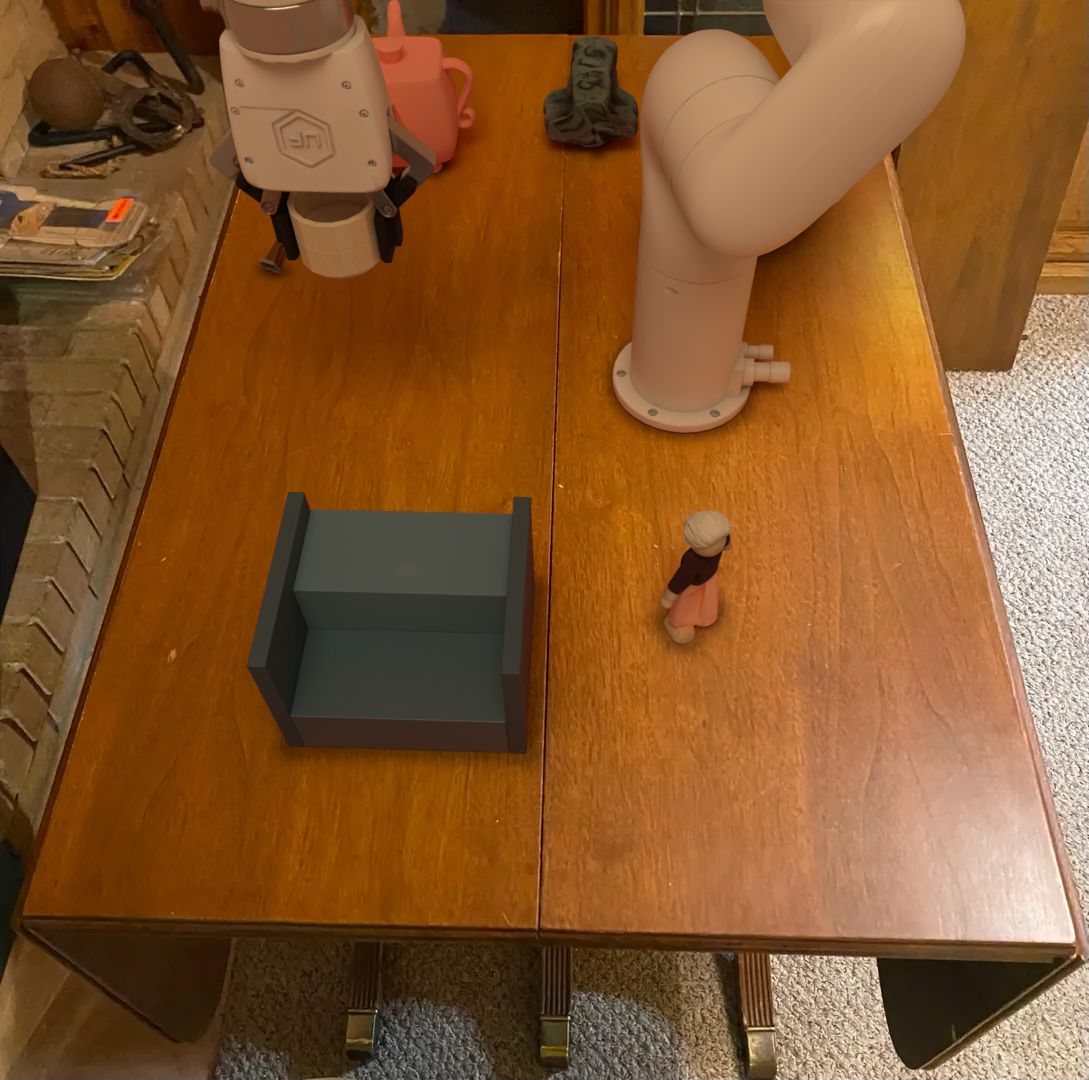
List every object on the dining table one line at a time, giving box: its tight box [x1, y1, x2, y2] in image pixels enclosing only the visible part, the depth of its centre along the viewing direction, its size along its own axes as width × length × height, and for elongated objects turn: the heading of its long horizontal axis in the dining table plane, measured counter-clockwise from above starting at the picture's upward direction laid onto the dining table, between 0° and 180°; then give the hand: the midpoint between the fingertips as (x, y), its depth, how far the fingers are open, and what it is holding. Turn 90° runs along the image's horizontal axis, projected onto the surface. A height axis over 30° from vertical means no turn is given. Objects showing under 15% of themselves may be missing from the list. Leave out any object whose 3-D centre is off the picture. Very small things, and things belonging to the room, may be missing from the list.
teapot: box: [371, 0, 477, 174], centre depth 111 cm, size 15×17×13 cm
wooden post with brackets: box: [257, 235, 284, 274], centre depth 105 cm, size 2×8×4 cm, turn 156°
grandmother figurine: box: [659, 509, 733, 645], centre depth 74 cm, size 8×4×13 cm, turn 148°
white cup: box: [287, 192, 381, 280], centre depth 74 cm, size 6×6×5 cm
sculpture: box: [542, 35, 640, 148], centre depth 116 cm, size 12×8×15 cm
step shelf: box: [246, 491, 536, 754], centre depth 73 cm, size 17×14×12 cm
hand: (343, 248), depth 76 cm, fingers closed on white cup, 6 cm apart
